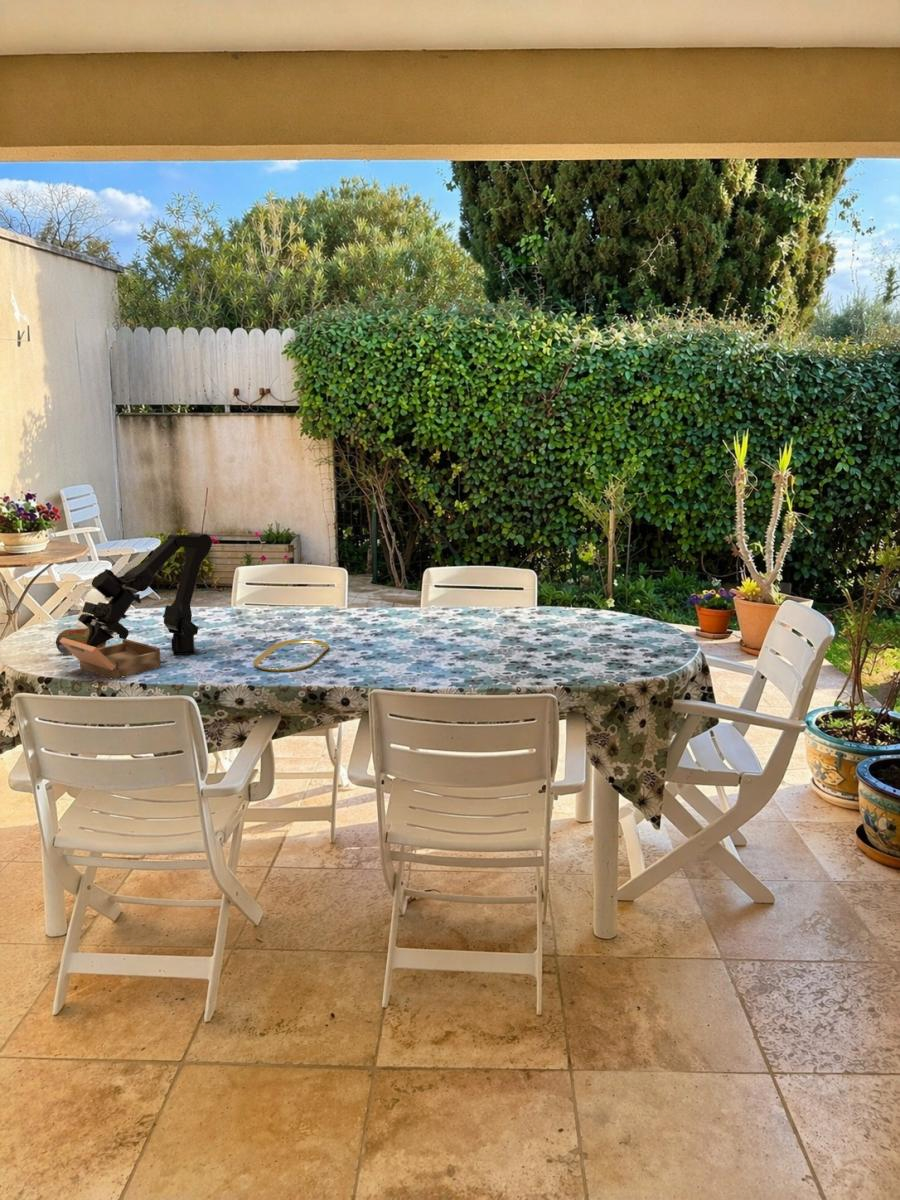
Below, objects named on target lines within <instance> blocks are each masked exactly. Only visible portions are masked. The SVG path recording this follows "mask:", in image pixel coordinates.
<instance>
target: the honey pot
mask: <svg viewBox="0 0 900 1200" xmlns="http://www.w3.org/2000/svg"><path fill="white" fill-rule="evenodd" d="M84 589H85V590H86V591H88V592H87V593H86V595H85V597H84V599H83V601H82V602H79V603H78V607H79V608H80V611H79V612H78V617H77V622H76V629H79V628H88V627H87V626H85V625H84V624H83V623H82V622H80V621H79V620H78V619H79V617H80V616H81V614H89V613H87V612H86V613H85V612H82V611H83V608H84V605H85V602H89V603H93V604H98V603H99V602H101V603H107V604H108V602H109V601H110V600H109V601H108V600H107V599H106V597H105V596H104V595H103V594H101V593H100V592H99V591H98V590H96V589H95V588H93V586H92V583H91V584H85V585H84ZM89 615H92V614H89ZM92 616H93V615H92ZM116 635H117V636H118V634H117V633H116V632H114V634H113V635H112V636H113V637H114V636H116ZM117 636H116V637H117ZM114 638H115V637H114Z"/></svg>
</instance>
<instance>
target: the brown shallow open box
mask: <svg viewBox="0 0 900 1200" xmlns="http://www.w3.org/2000/svg"><path fill="white" fill-rule="evenodd" d="M97 649H98V650H99V651H100V652H101V653H102V654H103V655H104V656H105V657H106V658H107V659H108V660H109V661H110V662H111V663H112V664H113V665H114V666H115V668H114V669H113V670H108V669H105V668H102V667H99V666H96V665H93V664H90V663H87V662H84V661H81V660H79V669H80V668H82V669H81V670H83V669H85V670H84V671H86V670H88V671H87V672H89V671H91V672H90V673H92V672H94V673H93V674H95V673H97V674H96V675H98V674H100V675H99V676H101V675H103V676H102V677H104V676H106V677H105V678H107V677H109V678H108V679H110V678H112V679H111V680H113V679H114V680H116V679H115V678H118V679H120V678H119V677H121V678H123V677H122V676H125V677H128V676H127V675H129V676H131V675H130V674H133V675H135V674H134V673H137V674H140V673H139V672H141V673H143V671H145V672H148V671H147V670H149V671H152V670H151V669H153V670H156V668H157V669H159V667H161V668H162V666H161V650H160V647H157V646H154V645H153V646H152V645H148V644H146V643H143V642H142V643H141V642H138V641H134V640H131V639H127V638H126V639H122V642H121V643H116V644H111V645H105V647H102V648H97Z"/></svg>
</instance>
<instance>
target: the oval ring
mask: <svg viewBox="0 0 900 1200" xmlns="http://www.w3.org/2000/svg"><path fill="white" fill-rule="evenodd" d="M295 643H311V644H310V645H312V644H318V645H322V646H324V647H325V650H324V649H323V650H322V651H321V653H319V654H320V655H319V654H318V655H319V656H318V655H317V656H318V657H317V656H316V657H317V658H316V657H315V658H316V659H315V658H314V659H315V660H314V659H313V660H314V661H313V660H312V661H313V662H312V661H311V662H312V663H311V662H309V663H307V664H306V665H301V666H295V667H289V668H272V667H271V668H269V667H264V666H260V664H261V663H262V662H263V661H264V660H263V659H264V658H266V657H267V656H268V655H270V654H271V653H272V652H273V653H274V651H275V650H276V649H277V648H278V649H280V648H279V647H281V646H283V647H285V646H284V645H288V644H295ZM295 645H296V644H295ZM318 645H317V646H318ZM288 646H289V645H288ZM281 648H282V647H281ZM329 648H330V644H328V643H327V642H325V641H322V640H317V639H311V638H310V639H308V638H307V639H306V638H304V639H301V638H300V639H299V638H298V639H290V640H289V639H288V640H282V641H279V642H276V643H274V644H272V645H270V646H269V647H268V648H267V649H266V650H265V651H263V652H262V653H261V654H260V655H258V656H257V657H256V658H254V659H253V662H252V663H253V666H254V667H256V668H257V669H258V670H262V671H265V672H272V673H273V672H274V673H285V671H288V672H295V671H294V670H296V671H299V669H301V670H304V669H306V667H307V668H309V667H311V666H312V665H313V664H314V663H315V662H316V661H317V660H318V659H319V658H320V657H322V655H324V653H325V652H327V650H328V649H329ZM278 649H277V650H278ZM277 650H276V651H277ZM276 651H275V652H276ZM273 653H272V654H273ZM272 654H271V655H272ZM271 655H270V656H271ZM268 657H269V656H268ZM268 657H267V658H268ZM267 658H266V659H267ZM262 660H263V661H262ZM261 661H262V662H261ZM260 662H261V663H260ZM259 663H260V664H259ZM258 664H259V665H258ZM303 668H304V669H303Z"/></svg>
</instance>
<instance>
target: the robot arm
mask: <svg viewBox="0 0 900 1200" xmlns="http://www.w3.org/2000/svg"><path fill="white" fill-rule="evenodd" d="M212 546H213V540H212V538H211V537H210V535H209V534H207V533H200V532H199V533H198V532H194V531H193V532H190V533H189V534H176V533H171V534H169V535H168V536H167V538H166V539H165V540H164V541H163V542H162V543H161V544H160V545H159V547H157V548H156V549H155V551H153V552H152V553H151V554H150V556H149V557H147V558H146V559H145V560H144V561H143V562H141V564H138V565H136V566H133V567H131V568H130V569H129V570H128V571H126V572H125V573H124V575H122V576H117V574H115V573H114V572H113V571H112V570H111V569H107V568H105V569H104V571H103V572H100V573H98V574H97V575H95V576H94V578H93V579H92V581H91V584H92V588H93V589H96V590H98V591H99V592H100V593H101V594H102V595H103V596H104V598H105V599H106V598H107V599H109V598H110V600H109V602H108V604H107V603H101V602H99V603H98V604H93V603H89V602H85V605H84V608H83V611H82V612H85V613H86V612H87V613H89V614H92V615H93V616H92V615H89V614H81V616H80V617H79V616H78V617H79V619H78V618H77V621H78V620H79V621H80V622H82V623H83V624H84V625H85V626H87V627H88V628H89V630H90V632H89V636H88V640H87V643H86V645H89V646H93V647H96V646H98V645H100V644H101V643H103V642H105V641H106V642H107V641H109V640H112V639H114V638H115V637H113V636H112V635H113V634H114V632H116V633H117V636H118V637H119V639H122V640H124V639H127V638H128V637H129V635H130V633H129V630H128V628H126V627H125V626H124V625H123V624H121V623H120V621H121V620H122V619H126V617H127V615H126V612H128V610H129V608H130V607H131V606H132V605H133V603H136V604H141V603H142V601H141V597H140V596H141V594H139V593H135V592H133V591H136V592H145V591H146V590H148V589H149V587H150V586H151V585H152V582H153V581H154V578H155V575H156V574H157V572H158V571H159V570H160V569H161V568H162V567H163V566H164V565H165V564H166V563H167V562H168V560H170V559H171V557H173V556H174V555H175V554H176V553H177V552H178V551H179V550H180V549H181V548H183V550H184V551H183V552H184V555H185V561H184V565H183V568H182V572H181V575H180V576H181V577H180V580H179V583H178V587H177V591H176V595H175V599H174V600H173V603H172V604H170V605H168V604H166V606H165V608H164V614H163V615H162V618H163V624H164V625H165V628H167V631H168V632H169V634H172V638H171V640H170V641H171V652H172V653H173V655H174V656H178V655H194V654H195V651H196V647H195V646H196V645H195V636H196V635H198V633H199V632H198V631H199V627H198V626H197V625H196V624H195V623H193V622H192V618H193V614H192V613H193V612H192V608H191V602H192V598H193V596H194V592H195V587H196V584H197V581H198V576H199V572H200V569H201V565H202V562H203V561H204V560H205V558H206V557H208V555H209V553H210V551H211V548H212ZM131 590H132V591H131Z"/></svg>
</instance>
